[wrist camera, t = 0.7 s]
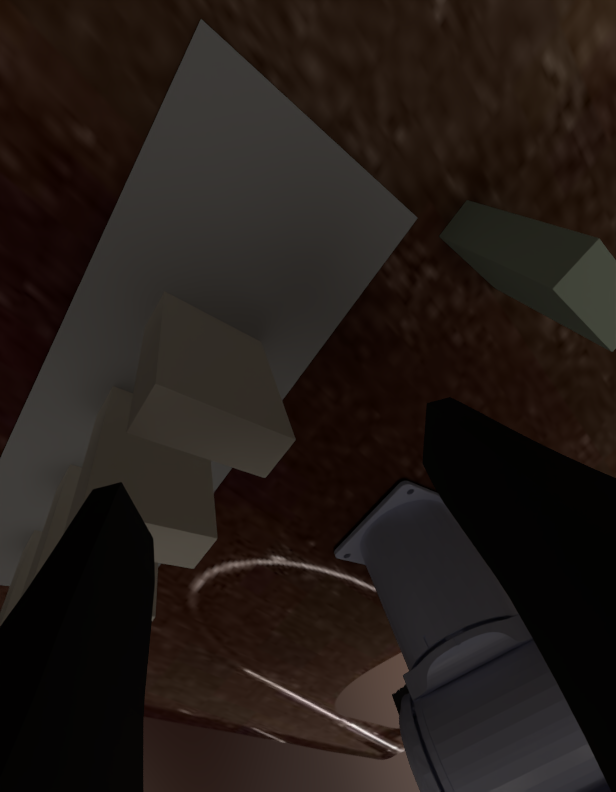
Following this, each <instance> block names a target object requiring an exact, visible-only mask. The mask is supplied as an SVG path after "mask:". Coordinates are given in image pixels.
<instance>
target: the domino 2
mask: <svg viewBox="0 0 616 792" xmlns="http://www.w3.org/2000/svg"><path fill="white" fill-rule="evenodd" d="M81 469H82V467H79V466H75V465H71V464H70V466H69V467H68V469H67V471H66V473H65V475H64V477H63V478H62V480H61V482H60V484H59V486H58V488H57V490H56V493H55V496H54V499H53V502H52V505H51V508H50V511H49V514H48V517H47V520H46V523H45V526H44V528H43V531H42V534H41V537H40V540H39V543H38V546H37V549H36V552H35V555H34V558H33V561H32V564H31V567H30V570H29V573H28V576H27V579H26V582H25V585H24V588H23V591H22V594H21V597H22V596H23V594H24V593H25V591H26V590H27V588H28V587H29V585H30V584H31V582H32V581H33V580H34V578H35V577H36V575H37V574H38V572H39V571H40V569H41V568H42V566H43V565H44V563H45V562H46V560H47V559H48V557H49V556H50V554H51V553H52V551H53V550H54V548H55V547H56V545H57V543H58V542H59V540H60V539H61V537H62V536H63V533H64V529H65V526H66V522H67V519H68V515H69V512H70V508H71V505H72V501H73V497H74V494H75V490H76V487H77V483H78V480H79V476H80V473H81ZM154 563H155V588H154V600H153V611H152V620H153V619H154V618H155V613H156V594H157V575H158V563H157V562H154ZM21 597H20V598H21Z"/></svg>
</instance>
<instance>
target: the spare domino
mask: <svg viewBox="0 0 616 792" xmlns="http://www.w3.org/2000/svg"><path fill="white" fill-rule="evenodd" d="M439 237H440V238H441V239H442V240H443V241H444V242H445V243H447V244H448V245H449V246H450V247H451V248H452V249H453V250H454V251H455V252H456V253H457V254H458V255H460V256H461V257H462V258H463V259H464V260H465V261H466V262H467V263H468V264H469V265H470V266H472V267H473V268H474V269H475V270H476V271H477V272H478V273H479V274H480V275H481V276H482V277H483V278H485V279H486V280H487V281H488V282H489V283H490V284H491V285H492V286H493V287H494V288H496V289H497V290H499V291H501V292H503V293H505V294H507V295H508V296H510V297H512V298H514V299H516V300H518V301H519V302H521V303H523V304H525V305H527V306H529V307H530V308H532V309H534V310H536V311H538V312H540V313H541V314H543V315H545V316H547V317H549V318H551V319H552V320H554V321H556V322H558V323H560V324H562V325H563V326H565V327H567V328H569V329H571V330H573V331H574V332H576V333H578V334H580V335H582V336H584V337H585V338H587V339H589V340H591V341H593V342H595V343H596V344H598V345H600V346H602V347H604V348H606V349H608V350H609V351H611V352H612V351H613V350H615V349H616V260H615V259H614V258H613V256H612V255H611V254H610V252H609V251H608V250H607V248H606V247H605V246H604V244H603V243H602V242H601V240H600V239H599V238H596V237H592V236H589V235H586V234H582V233H579V232H575V231H572V230H568V229H565V228H561V227H558V226H555V225H551V224H548V223H544V222H541V221H537V220H534V219H530V218H527V217H524V216H520V215H517V214H513V213H510V212H506V211H503V210H499V209H496V208H493V207H489V206H486V205H482V204H479V203H475V202H472V201H468V200H467V201H466V202H465V203H464V205H463V206H462V207H461V209H460V210H459V211H458V212H457V214H456V215H455V216H454V218H453V219H452V220H451V221H450V223H449V224H448V225H447V227H446V228H445V229H444V230H443V232H442V233H441V234H440V236H439Z"/></svg>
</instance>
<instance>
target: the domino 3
mask: <svg viewBox="0 0 616 792" xmlns="http://www.w3.org/2000/svg"><path fill="white" fill-rule="evenodd" d="M132 398H133V393H130V392H128V391H125V390H122V389H120V388H117V387H115V386H113V387H112V388H111V390H110V392H109V394H108V396H107V398H106V400H105V401H104V403H103V405H102V407H101V409H100V411H99V412H98V414H97V416H96V420H95V423H94V427H93V430H92V434H91V437H90V441H89V445H88V448H87V452H86V455H85V459H84V462H83V466H82V469H81V473H80V476H79V480H78V483H77V487H76V490H75V494H74V497H73V501H72V505H71V508H70V512H69V515H68V519H67V522H66V526H65V529H64V533H65V531H66V530H67V528H68V526H69V525H70V523H71V522H72V520H73V519H74V517H75V516H76V514H77V512H78V511H79V509H80V508H81V506H82V505H83V503H84V502H85V500H86V499H87V497H88V496H89V494H90V493H91V491H92V490H93V489H96V488H100V487H104V486H108V485H112V484H116V483H119V482H122V484H123V485H124V487H125V489H126V491H127V493H128V494H129V496H130V498H131V500H132V501H133V503H134V505H135V507H136V508H137V510H138V512H139V514H140V516H141V517H142V519H143V521H144V523H145V524H146V526H147V528H148V530H149V532H150V533H151V535H152V537H153V540H154V562H157V563H163V564H169V565H175V566H180V567H186V568H192V569H194V567H195V566H196V565H197V564H198V562H199V561H200V560H201V559H202V557H203V556H204V555H205V554H206V552H207V551H208V550H209V549H210V547H211V546H212V545H213V543H214V542H215V541H216V540H217V528H216V516H215V504H214V493H213V481H212V469H211V460H208V459H205V458H202V457H199V456H196V455H193V454H190V453H187V452H183V451H180V450H177V449H174V448H171V447H168V446H165V445H162V444H159V443H156V442H153V441H150V440H147V439H144V438H140V437H137V436H134V435H131V434H128V433H126V432H127V426H128V421H129V415H130V409H131V403H132ZM64 533H63V534H64Z"/></svg>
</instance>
